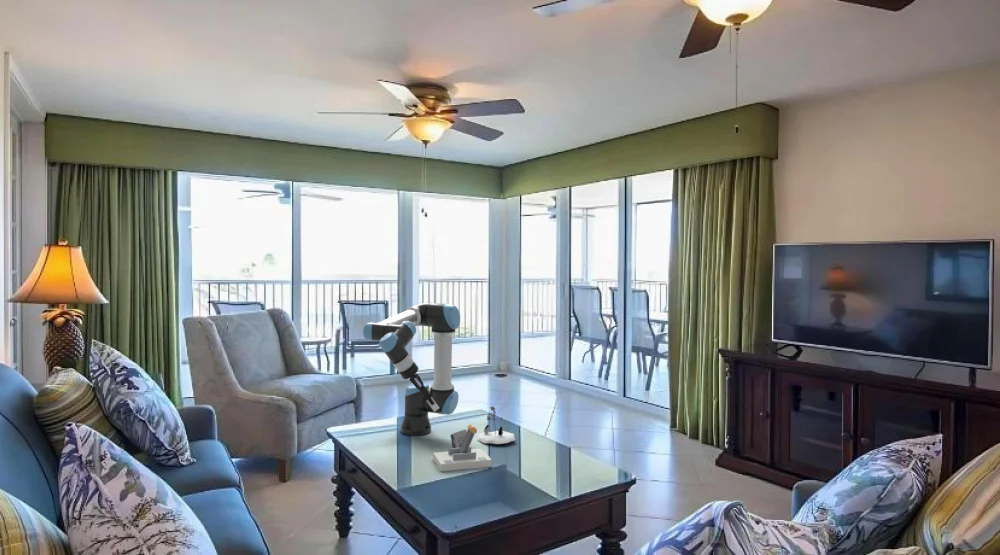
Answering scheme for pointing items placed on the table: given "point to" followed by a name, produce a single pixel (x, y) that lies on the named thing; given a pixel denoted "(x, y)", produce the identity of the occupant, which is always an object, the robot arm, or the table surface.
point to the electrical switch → (458, 438)
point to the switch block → (461, 459)
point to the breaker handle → (467, 439)
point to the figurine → (495, 433)
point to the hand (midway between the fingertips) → (436, 409)
